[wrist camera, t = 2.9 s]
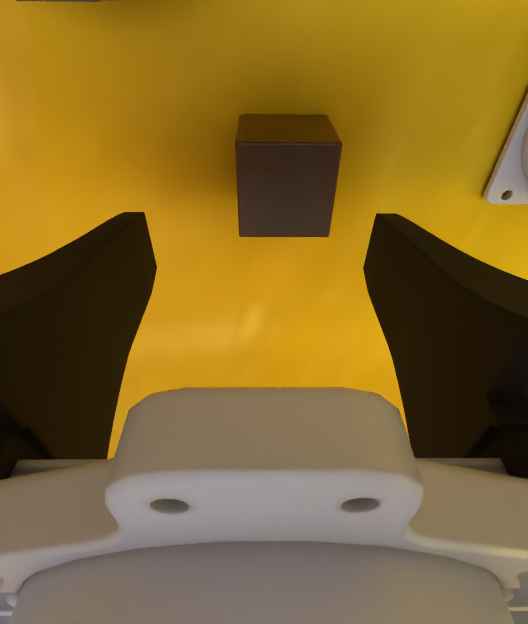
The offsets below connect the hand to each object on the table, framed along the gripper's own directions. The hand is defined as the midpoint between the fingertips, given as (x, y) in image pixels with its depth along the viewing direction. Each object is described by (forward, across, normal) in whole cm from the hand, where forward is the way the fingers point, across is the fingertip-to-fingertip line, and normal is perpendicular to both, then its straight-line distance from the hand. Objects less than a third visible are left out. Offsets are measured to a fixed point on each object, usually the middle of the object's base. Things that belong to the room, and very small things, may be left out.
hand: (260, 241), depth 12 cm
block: (+8, -1, 0) cm, 8 cm away
